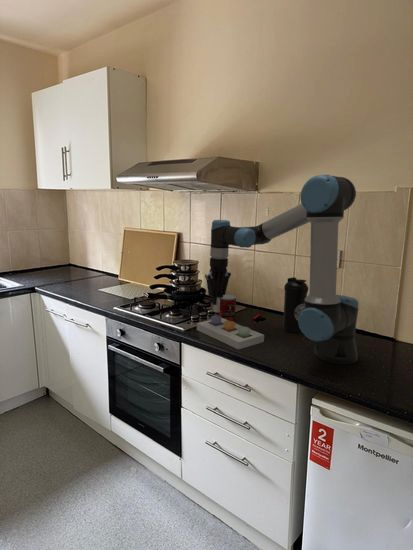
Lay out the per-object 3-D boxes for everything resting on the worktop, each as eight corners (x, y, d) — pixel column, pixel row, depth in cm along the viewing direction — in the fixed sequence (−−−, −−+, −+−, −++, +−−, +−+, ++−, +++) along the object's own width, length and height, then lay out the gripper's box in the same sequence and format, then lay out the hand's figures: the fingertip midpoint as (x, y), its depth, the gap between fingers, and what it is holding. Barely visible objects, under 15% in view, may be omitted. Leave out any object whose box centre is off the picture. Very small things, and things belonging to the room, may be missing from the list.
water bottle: (292, 335, 165) (297, 282, 160) (276, 327, 173) (280, 277, 169) (309, 331, 171) (314, 280, 166) (292, 324, 179) (296, 275, 174)
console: (263, 341, 156) (264, 334, 155) (238, 349, 147) (238, 342, 147) (221, 324, 176) (221, 317, 175) (196, 329, 167) (196, 323, 166)
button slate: (223, 325, 167) (223, 317, 166) (215, 327, 164) (215, 319, 164) (216, 322, 171) (216, 314, 170) (208, 324, 168) (209, 316, 167)
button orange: (236, 331, 161) (237, 322, 160) (228, 333, 158) (229, 324, 157) (229, 328, 164) (230, 320, 163) (221, 330, 161) (222, 321, 161)
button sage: (251, 337, 154) (252, 328, 154) (243, 339, 152) (244, 330, 151) (243, 334, 158) (244, 325, 157) (235, 336, 155) (236, 327, 154)
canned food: (221, 322, 178) (222, 299, 176) (216, 316, 186) (217, 294, 184) (237, 321, 180) (238, 298, 178) (231, 316, 188) (232, 294, 186)
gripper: (224, 254, 168) (221, 307, 173) (201, 257, 160) (198, 311, 165) (236, 257, 163) (233, 311, 168) (212, 260, 155) (210, 316, 160)
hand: (216, 311), depth 166 cm, fingers closed
